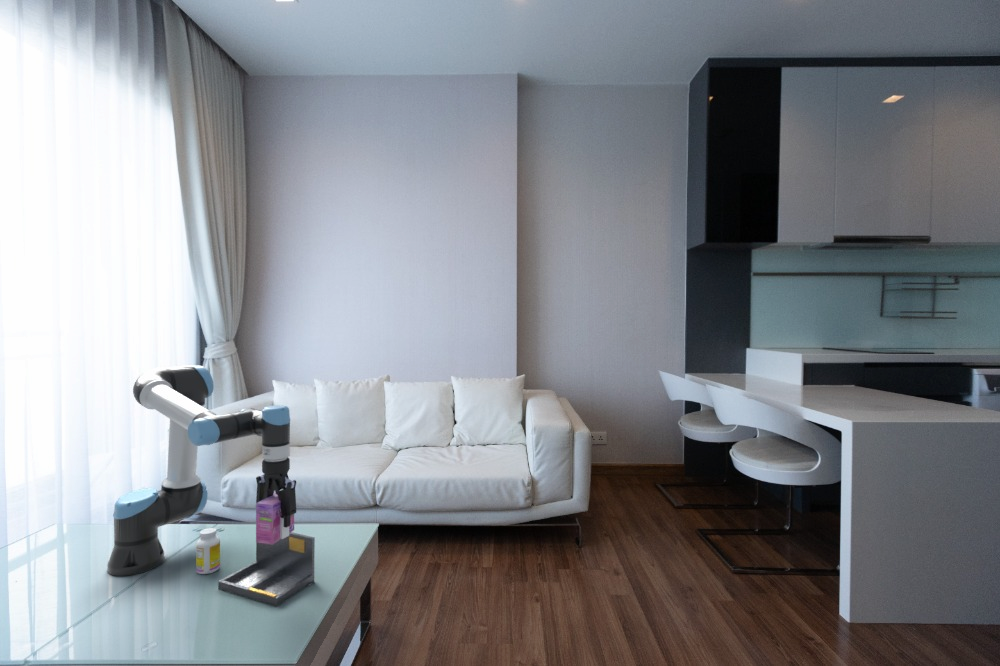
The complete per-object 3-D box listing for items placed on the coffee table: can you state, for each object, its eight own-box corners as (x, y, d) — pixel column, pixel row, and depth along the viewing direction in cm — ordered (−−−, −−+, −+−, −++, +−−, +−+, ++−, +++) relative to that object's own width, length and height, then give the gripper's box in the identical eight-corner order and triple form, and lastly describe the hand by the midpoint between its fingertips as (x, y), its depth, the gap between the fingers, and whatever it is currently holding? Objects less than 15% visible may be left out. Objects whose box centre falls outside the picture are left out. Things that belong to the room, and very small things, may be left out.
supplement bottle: (222, 563, 168) (222, 525, 167) (217, 573, 162) (217, 533, 161) (199, 566, 166) (199, 527, 165) (193, 576, 160) (193, 536, 159)
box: (272, 545, 145) (272, 504, 145) (255, 543, 147) (255, 502, 146) (295, 530, 156) (294, 492, 155) (278, 528, 157) (278, 490, 156)
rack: (218, 589, 152) (218, 543, 152) (258, 566, 166) (258, 524, 166) (276, 607, 144) (277, 558, 143) (314, 581, 158) (314, 537, 157)
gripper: (241, 457, 151) (241, 534, 151) (290, 465, 143) (290, 546, 144) (262, 451, 158) (262, 524, 158) (310, 459, 150) (310, 536, 151)
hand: (275, 534), depth 151 cm, fingers closed on box, 6 cm apart
